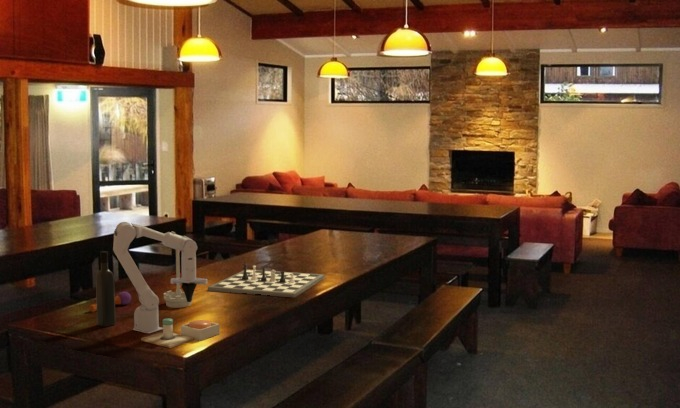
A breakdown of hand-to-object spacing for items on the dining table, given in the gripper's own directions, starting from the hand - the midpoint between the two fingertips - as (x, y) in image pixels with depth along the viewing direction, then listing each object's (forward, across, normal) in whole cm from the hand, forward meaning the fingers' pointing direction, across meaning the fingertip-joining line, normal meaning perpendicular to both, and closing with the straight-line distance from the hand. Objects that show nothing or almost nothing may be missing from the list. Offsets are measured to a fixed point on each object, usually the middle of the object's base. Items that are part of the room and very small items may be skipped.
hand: (189, 301), depth 297 cm
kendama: (+10, -43, +25) cm, 51 cm away
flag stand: (+10, -14, +33) cm, 37 cm away
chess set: (+11, +18, +77) cm, 80 cm away
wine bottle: (+10, -34, -2) cm, 35 cm away
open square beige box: (+10, +8, -13) cm, 18 cm away
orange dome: (+9, +8, -13) cm, 17 cm away
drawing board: (+10, -3, -20) cm, 23 cm away
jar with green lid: (+9, -2, -20) cm, 23 cm away
